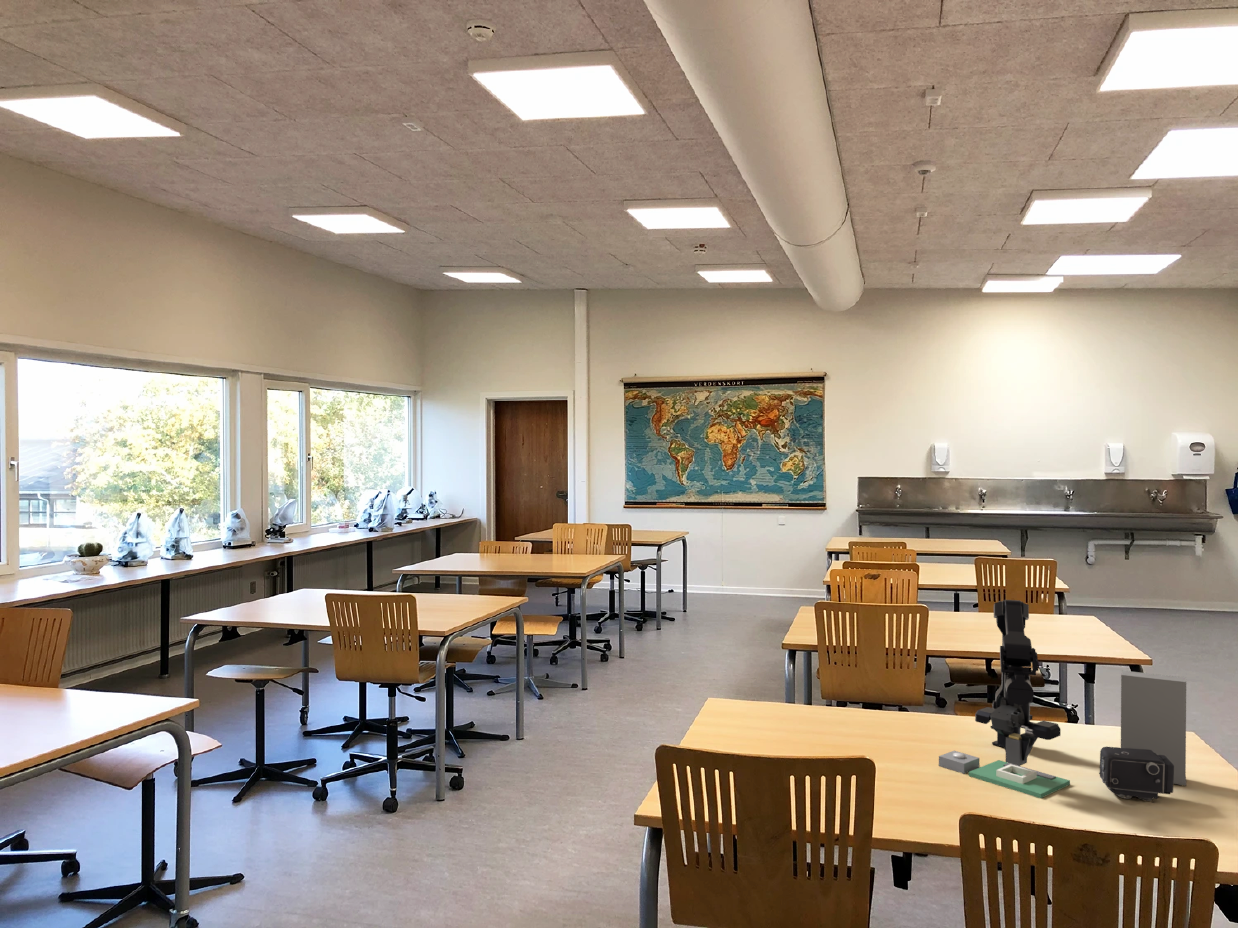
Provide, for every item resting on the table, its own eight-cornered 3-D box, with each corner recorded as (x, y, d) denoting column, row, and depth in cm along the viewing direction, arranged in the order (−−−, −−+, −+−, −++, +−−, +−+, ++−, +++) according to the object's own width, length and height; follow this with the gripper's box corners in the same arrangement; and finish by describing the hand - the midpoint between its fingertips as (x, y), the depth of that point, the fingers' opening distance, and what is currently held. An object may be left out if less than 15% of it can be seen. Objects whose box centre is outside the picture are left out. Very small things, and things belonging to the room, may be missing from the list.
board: (998, 763, 228) (998, 753, 228) (1069, 784, 213) (1069, 774, 213) (968, 775, 219) (968, 765, 219) (1040, 798, 205) (1040, 787, 205)
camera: (1110, 807, 202) (1181, 807, 199) (1105, 759, 202) (1176, 758, 199) (1097, 790, 212) (1166, 790, 209) (1093, 744, 212) (1161, 743, 209)
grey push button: (954, 759, 230) (954, 748, 230) (979, 767, 225) (979, 755, 225) (938, 765, 226) (938, 753, 226) (964, 773, 221) (964, 761, 221)
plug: (1013, 758, 218) (1013, 731, 218) (1026, 762, 215) (1027, 735, 215) (1005, 761, 216) (1005, 734, 216) (1019, 765, 213) (1019, 738, 213)
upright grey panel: (1185, 778, 217) (1186, 676, 217) (1186, 786, 212) (1187, 682, 212) (1120, 768, 224) (1121, 669, 224) (1119, 775, 219) (1120, 674, 219)
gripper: (963, 691, 218) (962, 754, 218) (1038, 708, 203) (1037, 776, 203) (987, 683, 225) (987, 745, 225) (1061, 700, 210) (1061, 766, 210)
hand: (1016, 758), depth 216 cm, fingers closed on plug, 3 cm apart
